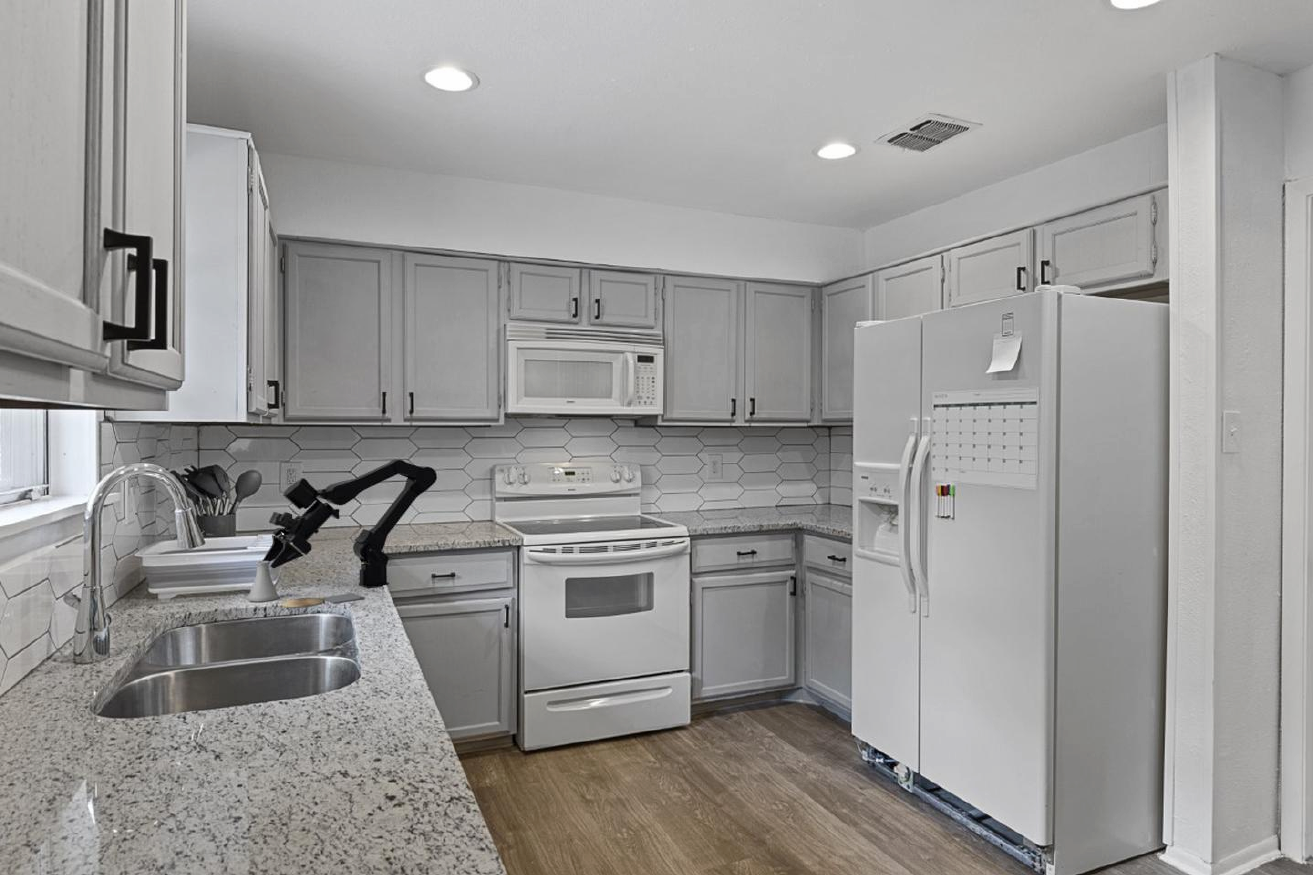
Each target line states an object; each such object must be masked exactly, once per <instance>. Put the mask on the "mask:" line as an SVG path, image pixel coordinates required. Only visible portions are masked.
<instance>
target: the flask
mask: <svg viewBox="0 0 1313 875" xmlns="http://www.w3.org/2000/svg"><path fill="white" fill-rule="evenodd" d="M255 564H256V567H257V568H256V576H255V579H254V581H253V584H252V587H251V589H250V592H249V595H248V597H247V600H248V601H249V602H267V601H273V600H277V599H279V598H280V596H279V594H278V591H277V589H276V586H275V585H274V583H273V580H272V577H271V574H270V569H269V567H270V566H269V565H271V561H270V562H269V561H263V560H260V561H256V562H255Z"/></svg>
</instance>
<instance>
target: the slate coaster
mask: <svg viewBox="0 0 1313 875" xmlns="http://www.w3.org/2000/svg"><path fill="white" fill-rule="evenodd" d="M365 598H366V597H364V596H362V595H358V594H356V593H354V592H351V593H344V594H337V595H329V596H323V597H322V599H324V601H326V602H328V603H331V604H333V605H334V604H335V605H336V604H341V603H343V604H344V603H348V602H353V601H354V602H356V601H361V600H365Z"/></svg>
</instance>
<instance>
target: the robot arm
mask: <svg viewBox="0 0 1313 875" xmlns="http://www.w3.org/2000/svg"><path fill="white" fill-rule="evenodd" d="M397 475H400V476H402V477H405V478H406V481H405V484H404V488H403V490H402V491H401V492H400V494H398V496H397V497H396V498H395V499H394V501H393V502H392V503H391V505H390V506H389V507H388V508H387V510H386V511H385V513H384V514H383V515H382V516H381V518H380V519H379V520H378V522H376V523H375V525H374V526H373V527H372V528H371V529H365V528H363V529H362V530H361V532H360V534H359V535H358V536H357V537H356V538H355V539H354V544H353V546H352V549H353V550H352V551H353V553H354V555H355V556H356V557H358V558H359V561H360V563H361V564H360V569H359V573H358V574H359V575H358V576H359V583H358V585H359V586H361V587H364V588H367V589H368V588H375V587H381V586H383V587H384V586H389V585H390V582H387V581H388V576H387V574H388V570H387V568H388V567H387V565H388V562H389V559H390V557H389V556H388V555H387V554H386V553H385V552H383V549H384V547H385V544H386V542H387V537H388V535H389V534H390V533H391V532H392V530H393V529H394V527H395V526H396V525H397V524H398V522H399V521H400V520H401V519H402V518H403V516H404V515H405V513H406V512H407V511H408V510H409V508H410V507H411V506H412V504H413V503H415V500H416V499H417V498H418V497H419V496H420V495H422V494H423V493H425V492H426V491H428V489H430V488H431V487H432V486H433V485H434V484H435V483H436V481H437V480H438V474H437V471H436V470H435V469H434V468H433V467H431V466H421V465H420V466H419V465H415V464H412V463H409V462H406V461H405V460H403V459H391V460H390V461H389V462H387V463H384V464H383V465H380V466H379V467H376V468H375V469H373V470H371V471H368V472H366V473H364V474H361V475H360V476H359V475H358V476H357V477H355V478H352V479H347V480H342V481H339V482H335V483H330V484H329V485H327V486H326V487H325V488H323V489H316V488H315V487H314V486H312V484H311V483H310V482H308V480H307V478H303V477H301V478H300V479H299V480H297V481H296V482H294V483H292V485H289V486H288V488H286V489H285V491H284V492H283V494H282V496H284V497H285V499H287V500H288V501H289V502H290V503H291V504H292V505H293V506H295V507H296V508H297V509H298V510H301V509H304V510H306V509H307V510H306V511H304V512H303V513H302V515H298V516H297V515H296V516H295V517H294V518H293V514H292V513H290V512H286V511H285V512H284V513H280V512H276V511H273V512H272V515H271V517H270V519H269V521H268V523H269V524H272V525H274V526H280V527H277V528H276V529H275V530H274V531H272V535H271V539H272V544H271V545H270V547H269V549H268V551H267V553H266V555H264V557H263V559H262V561H269V562H270V568H272V569H276V568H278V567H280V566H282V565H283V566H284V564H287V563H289V562H291V561H293V560H296V559H298V558H302V557H304V555H305V556H307V555H308V554H309V553H310V552H311V551H312V544H311V543H310V542H308V540H309V539H310V538H311V537H312V536H313V535H315V534H318V533H319V532H320V530H319V529H320V528H321V527H322V526H323V525H324V524H325V523H326V522H327V521H328V520H329V519H330V518H331V517H332V518H334V519H336V520H339V519H340V510H341V509H339V508H334V507H333V506H332V505H336V506H344V505H346V504H348V503H349V502H351V501H352V500H354V499H355V498H357V497H358V495H360V493H362V492H363V491H365V490H367V489H369V488H371V487H373V486H376V485H378V484H380V483H382V482H385V481H386V480H389V479H391V478H393V477H394V476H397ZM320 499H322V500H325V501H326V502H324V503H323V502H322V501H321V500H320Z"/></svg>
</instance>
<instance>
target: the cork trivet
mask: <svg viewBox="0 0 1313 875" xmlns="http://www.w3.org/2000/svg"><path fill="white" fill-rule="evenodd" d="M324 601H325V600H324V599H322V598H321V597H308V596H307V597H298V598H292V599H287V600H284V601H282V602H281V603H280V605H281V607H283V608H306V607H308V608H309V607H313V606H317V605H322V604H323V603H324Z"/></svg>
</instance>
